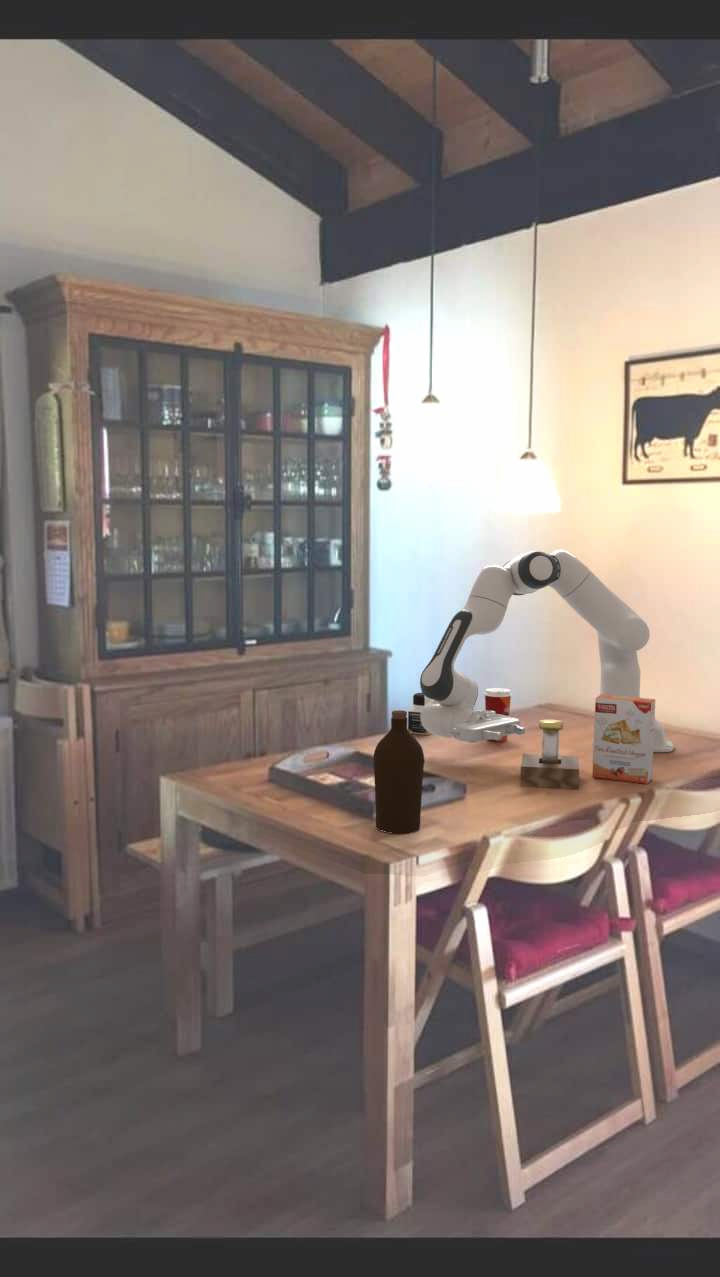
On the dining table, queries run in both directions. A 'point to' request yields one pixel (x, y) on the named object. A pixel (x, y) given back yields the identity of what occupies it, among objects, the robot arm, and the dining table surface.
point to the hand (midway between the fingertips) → (512, 734)
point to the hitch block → (550, 772)
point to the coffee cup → (498, 703)
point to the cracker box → (623, 738)
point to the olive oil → (398, 778)
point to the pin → (550, 740)
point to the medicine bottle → (417, 714)
